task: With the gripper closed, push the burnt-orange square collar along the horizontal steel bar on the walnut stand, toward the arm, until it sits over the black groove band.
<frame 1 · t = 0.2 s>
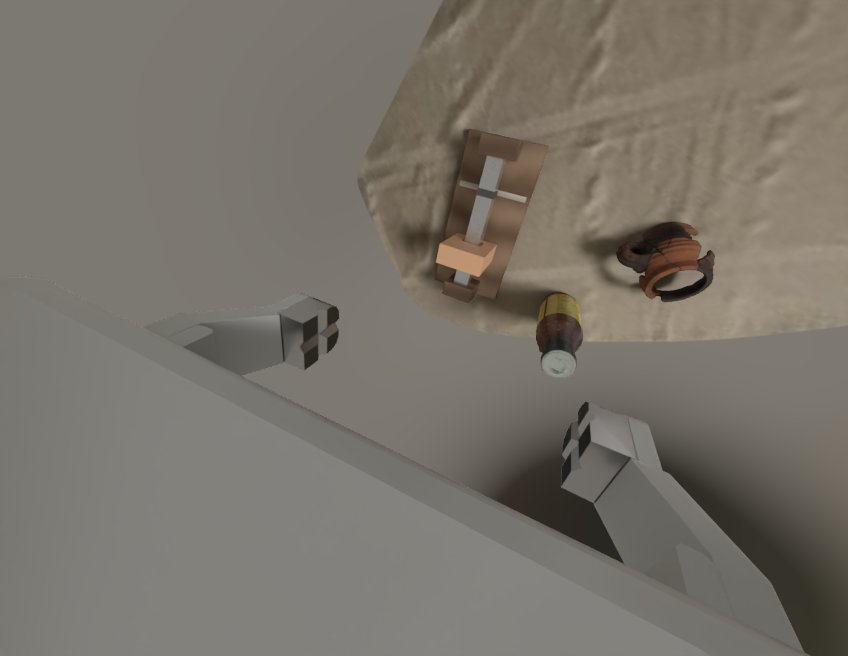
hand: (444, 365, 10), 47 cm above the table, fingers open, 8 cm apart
rod stand: (484, 221, 53), on the table
collar: (467, 253, 50), point 7 cm above the table, slide at 4.0 cm
sauce bottle: (560, 306, 55), on the table
broken clay pot: (656, 255, 46), on the table
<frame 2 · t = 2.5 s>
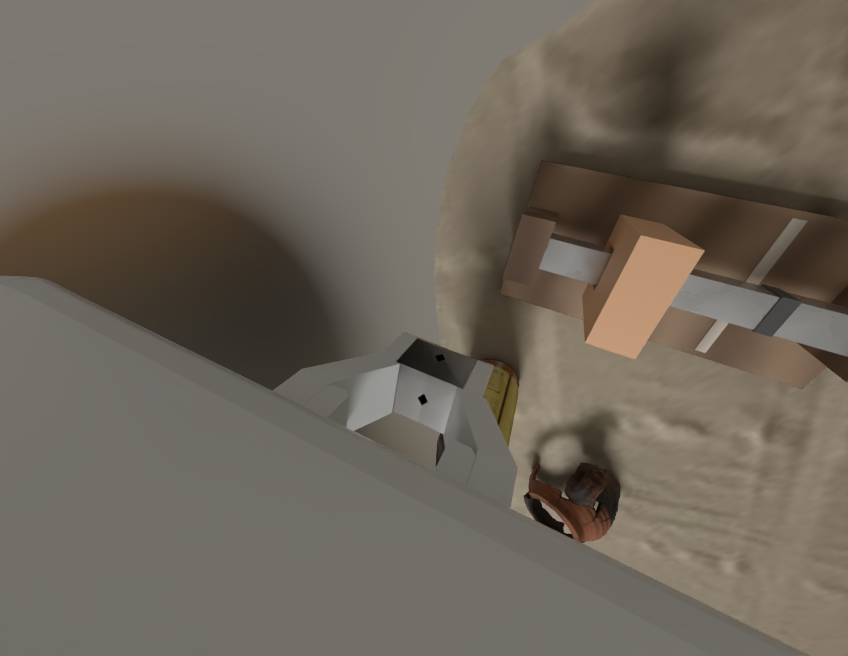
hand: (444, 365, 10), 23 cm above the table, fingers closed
rod stand: (668, 270, 26), on the table
collar: (627, 279, 22), point 7 cm above the table, slide at 4.0 cm
sauce bottle: (495, 379, 38), on the table
broken clay pot: (575, 474, 39), on the table
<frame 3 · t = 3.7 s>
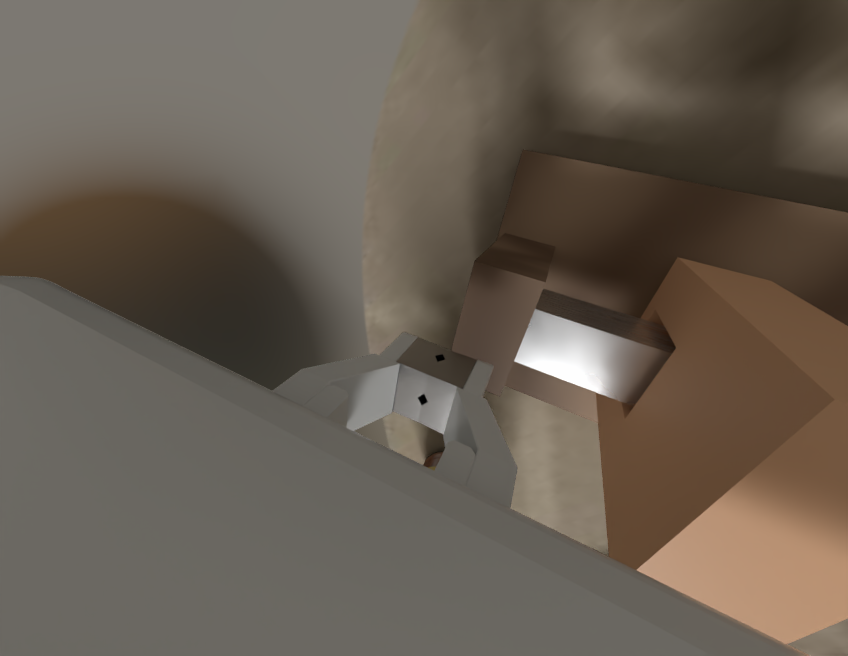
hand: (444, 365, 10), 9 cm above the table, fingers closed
rod stand: (757, 356, 14), on the table
collar: (703, 412, 10), point 6 cm above the table, slide at 4.0 cm
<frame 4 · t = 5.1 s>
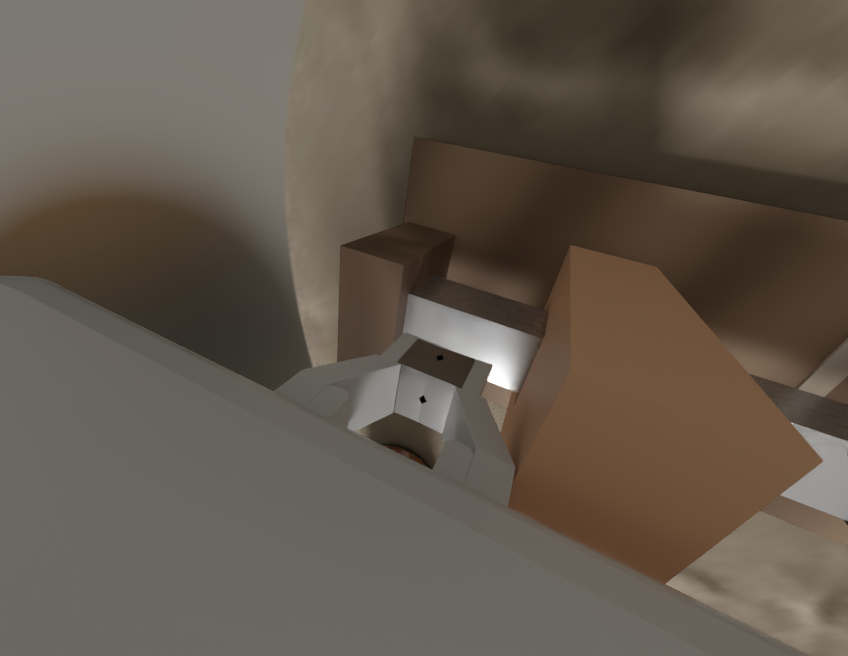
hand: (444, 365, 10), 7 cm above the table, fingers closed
rod stand: (654, 341, 14), on the table
collar: (574, 398, 10), point 6 cm above the table, slide at 3.5 cm, touching gripper
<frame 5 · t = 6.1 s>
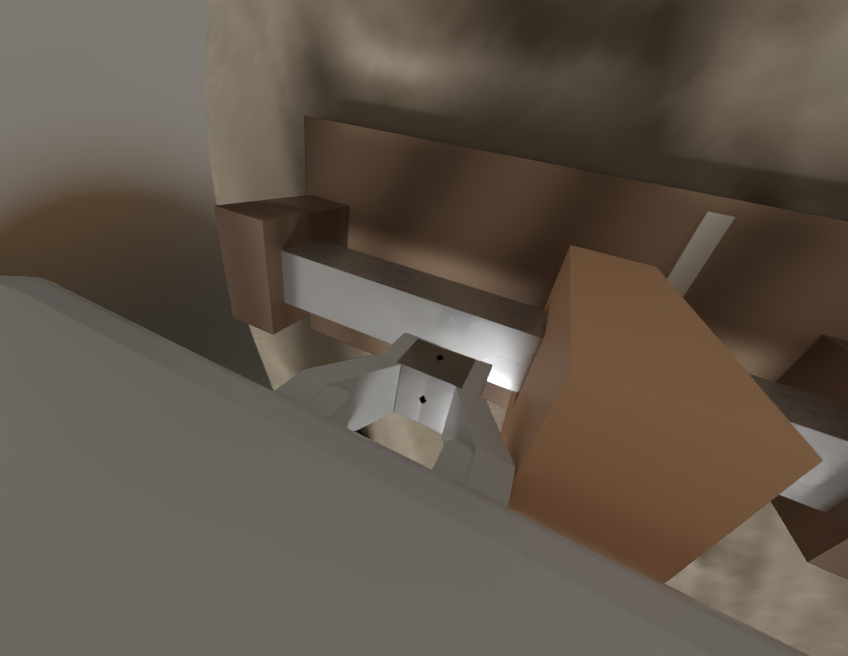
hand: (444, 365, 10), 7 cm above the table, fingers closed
rod stand: (525, 301, 16), on the table
collar: (574, 398, 10), point 6 cm above the table, slide at -2.3 cm, touching gripper
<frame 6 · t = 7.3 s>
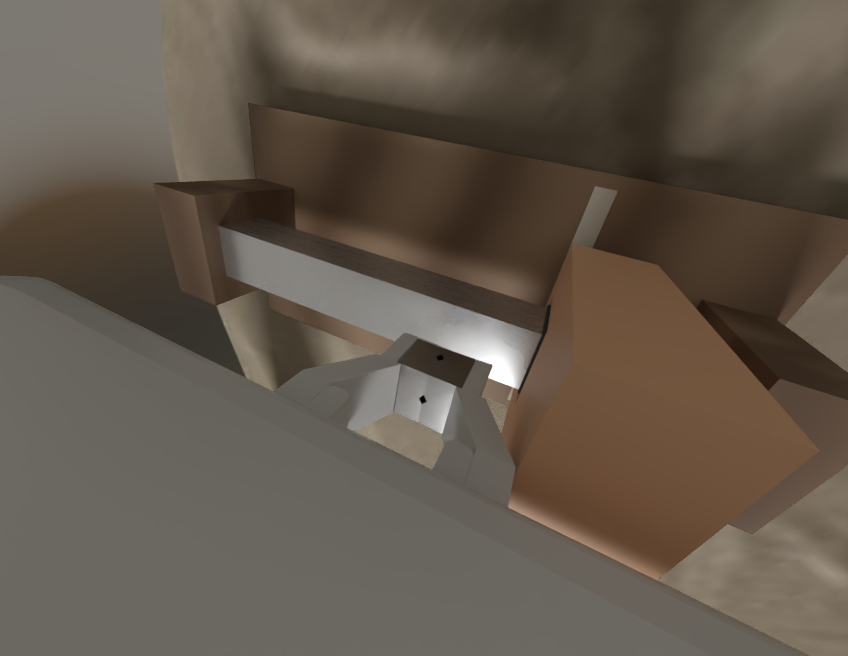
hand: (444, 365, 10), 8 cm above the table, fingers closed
rod stand: (457, 277, 17), on the table
collar: (576, 394, 10), point 6 cm above the table, slide at -6.1 cm, touching gripper
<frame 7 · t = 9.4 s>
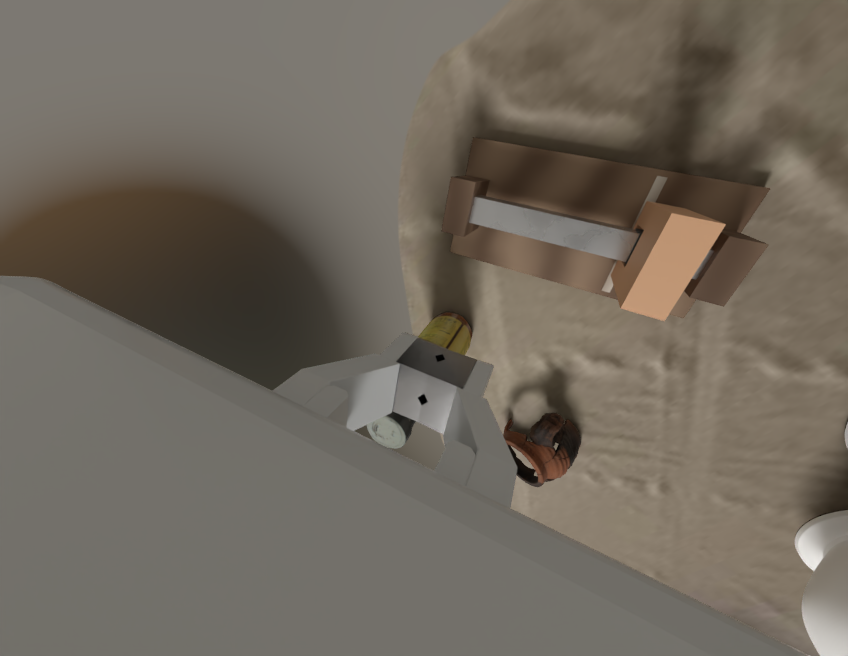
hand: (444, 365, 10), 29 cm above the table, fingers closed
rod stand: (577, 225, 32), on the table
collar: (654, 255, 25), point 7 cm above the table, slide at -6.1 cm
sauce bottle: (453, 331, 44), on the table
broken clay pot: (543, 426, 45), on the table
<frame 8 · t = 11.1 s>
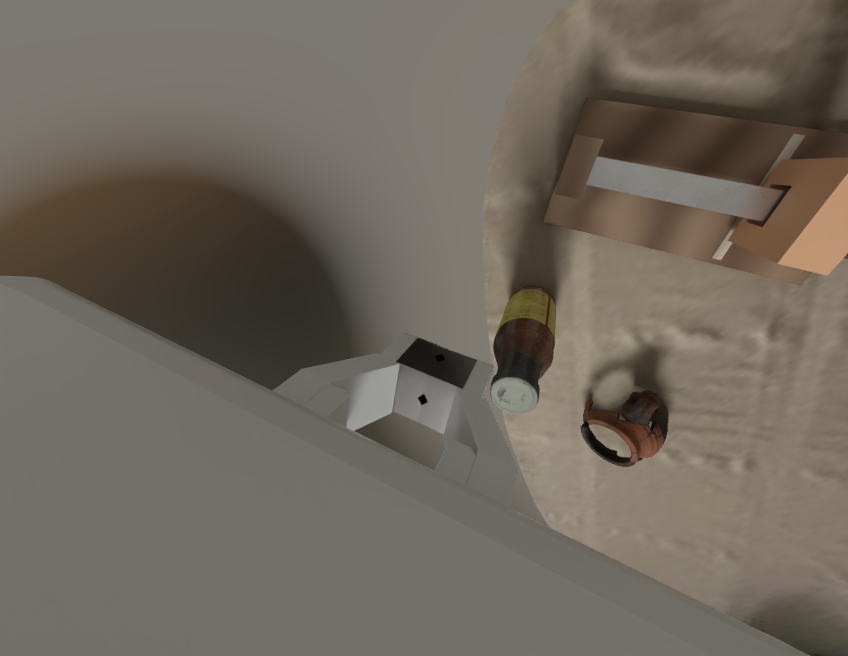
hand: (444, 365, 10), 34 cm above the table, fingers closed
rod stand: (690, 190, 31), on the table
collar: (802, 212, 25), point 7 cm above the table, slide at -6.1 cm
sauce bottle: (533, 306, 43), on the table
broken clay pot: (625, 407, 44), on the table
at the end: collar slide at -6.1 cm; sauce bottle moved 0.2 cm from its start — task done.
